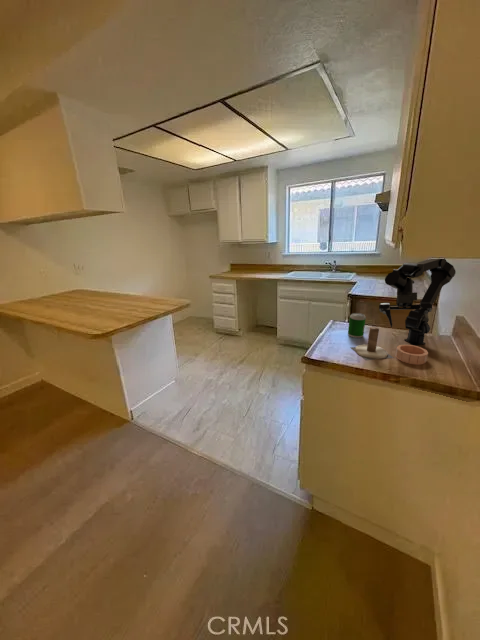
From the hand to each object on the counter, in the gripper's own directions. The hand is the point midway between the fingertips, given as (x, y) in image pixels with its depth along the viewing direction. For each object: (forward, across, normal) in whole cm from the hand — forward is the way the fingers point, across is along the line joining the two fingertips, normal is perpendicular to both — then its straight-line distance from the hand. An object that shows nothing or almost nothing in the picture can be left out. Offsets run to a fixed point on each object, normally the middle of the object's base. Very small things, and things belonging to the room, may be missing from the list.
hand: (404, 327), depth 110 cm
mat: (+11, -13, +5) cm, 18 cm away
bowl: (+12, +2, +8) cm, 15 cm away
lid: (+11, -13, +5) cm, 17 cm away
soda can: (+1, -22, +20) cm, 30 cm away
